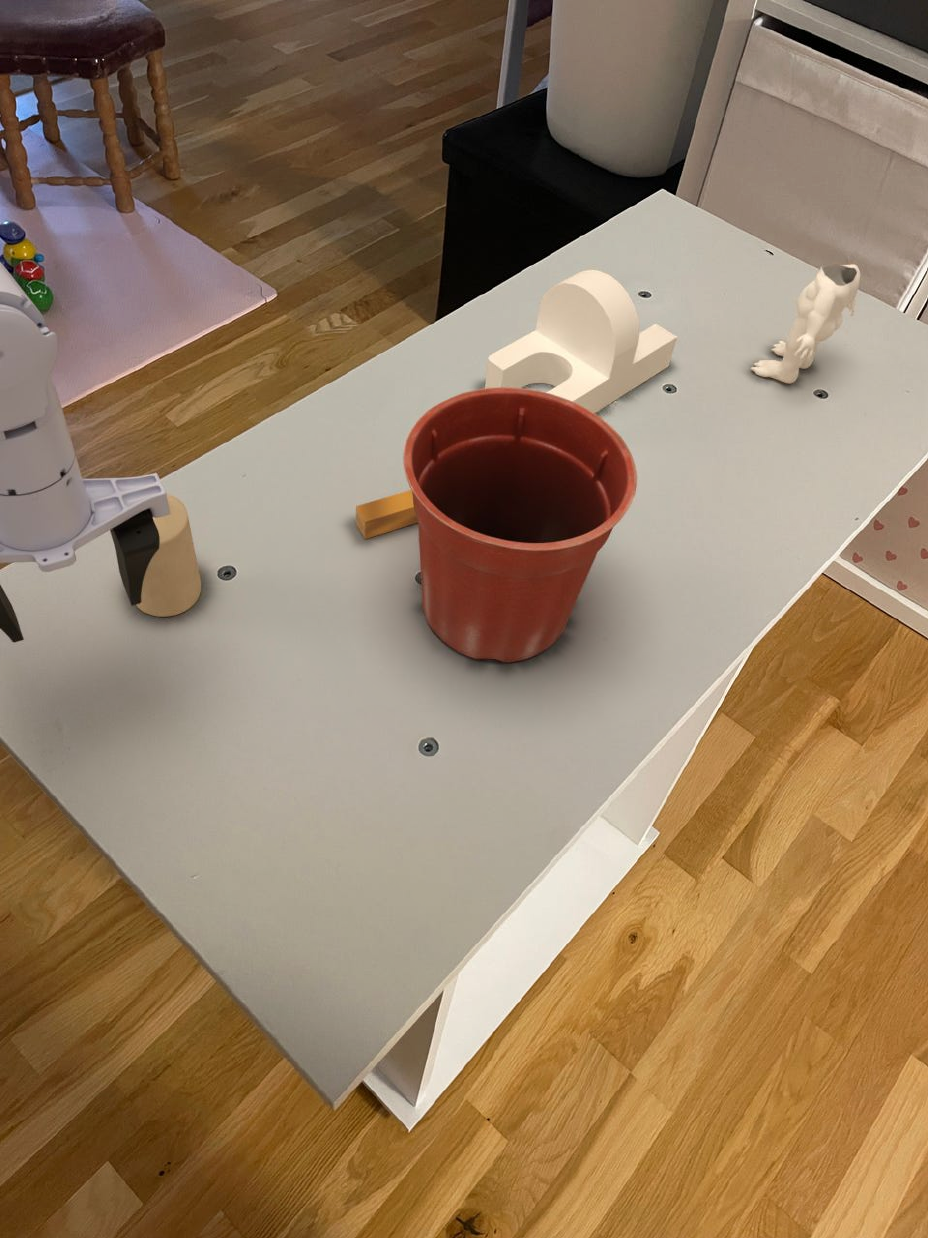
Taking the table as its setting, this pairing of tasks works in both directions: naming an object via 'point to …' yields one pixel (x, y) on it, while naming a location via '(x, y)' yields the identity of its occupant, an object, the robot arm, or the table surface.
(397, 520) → the fry stick
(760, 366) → the toy creature
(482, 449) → the flower pot
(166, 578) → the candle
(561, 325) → the block with arch cutout
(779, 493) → the table surface
